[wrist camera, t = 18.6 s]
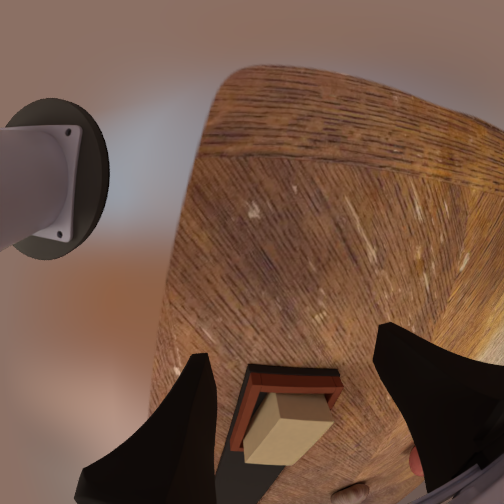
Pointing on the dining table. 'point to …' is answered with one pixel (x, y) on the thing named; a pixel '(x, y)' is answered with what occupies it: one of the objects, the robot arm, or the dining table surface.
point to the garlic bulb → (351, 495)
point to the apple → (415, 463)
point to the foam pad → (285, 428)
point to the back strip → (251, 396)
